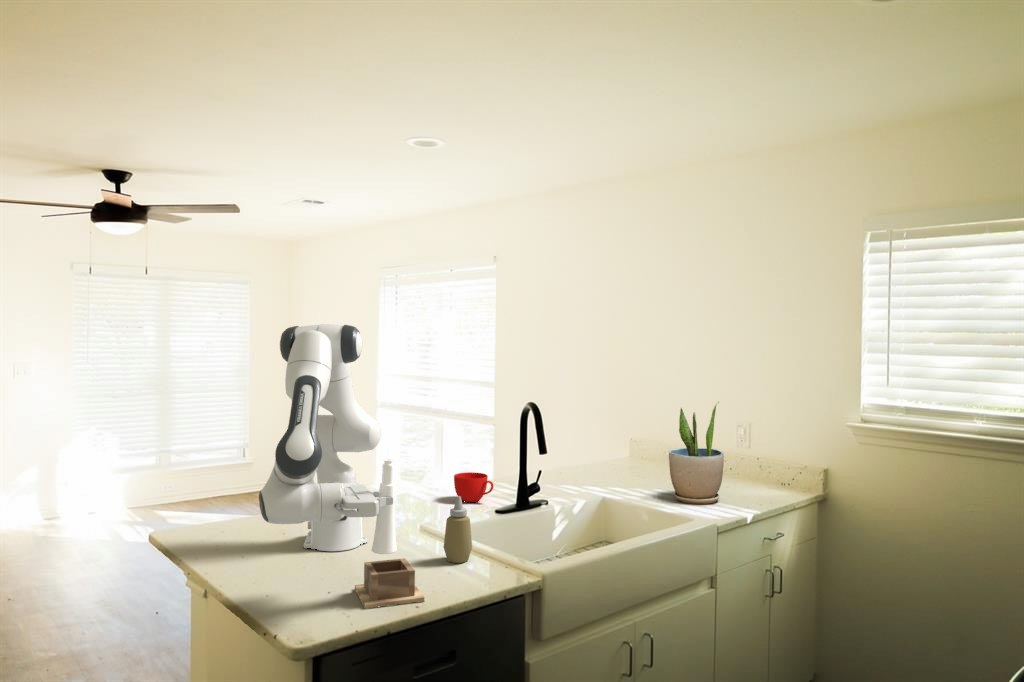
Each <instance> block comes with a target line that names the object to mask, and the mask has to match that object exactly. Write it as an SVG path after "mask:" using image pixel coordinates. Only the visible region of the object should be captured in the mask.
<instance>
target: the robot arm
mask: <svg viewBox="0 0 1024 682" xmlns="http://www.w3.org/2000/svg"><path fill="white" fill-rule="evenodd" d="M279 350H280V354H281V358H282V359H283V360H284V361H285V362H286V369H285V379H284V380H285V394H286V395H287V396H288V397H289V399H290V400H291V406H290V411H289V412H290V413H289V420H288V426H287V429H286V430H285V433H284V434H283V436H282V437H281V439H280V440H279V442H278V443H277V444H276V445H277V446H276V449H275V452H274V454H275V456H274V457H275V460H274V466H273V468H272V471H271V473H270V475H269V478H268V480H267V481H266V483H265V485H264V486H263V487H262V489H261V490H260V491H259V493H258V501H259V502H258V503H259V510H260V514H261V517H262V518H263V520H264V522H266V523H269V524H274V525H299V524H303V523H306V522H307V530H310V531H309V532H307V535H306V537H305V540H304V543H303V547H304V548H303V547H302V548H303V549H307V548H311V549H310V550H315V549H317V551H321V552H343V551H348V550H349V551H350V550H352V549H353V550H354V549H355V548H358V547H359V546H361V545H364V544H363V543H365V544H367V543H368V542H369V540H368V538H367V537H365V536H364V535H363V519H362V518H373V517H377V515H378V514H379V507H382V506H385V505H392V504H393V497H392V496H385V497H381V498H379V490H378V491H377V490H376V491H375V490H369V488H368V487H367V486H366V485H365V484H364V483H358V482H357V481H356V480H357V479H356V478H357V474H356V472H355V470H354V468H353V467H351V466H350V465H349V464H347V463H345V462H343V461H342V460H341V459H340V457H339V455H338V453H363V452H367V451H368V452H369V451H374V449H376V447H377V446H378V444H379V443H380V440H381V436H382V432H381V431H382V430H381V427H380V425H379V423H378V421H377V419H375V418H374V417H373V416H371V415H370V414H368V413H367V412H366V411H365V410H364V409H363V408H362V407H361V405H360V404H359V403H358V400H357V399H356V395H355V392H354V391H355V390H354V386H353V377H352V367H351V363H353V362H356V361H357V360H358V359H359V358H360V356H361V353H362V350H363V338H362V336H361V332H360V330H359V329H358V328H357V327H356V326H353V325H349V324H344V325H340V324H329V323H328V324H326V323H324V324H323V323H322V324H313V325H311V324H310V325H303V326H299V325H294V326H289V327H286V329H285V330H284V331H283V332H282V333H281V336H280V340H279ZM319 407H321V408H323V409H324V410H326V411H328V412H329V413H331V414H319ZM315 475H316V477H317V478H316V479H317V482H315ZM366 542H367V543H366ZM360 544H361V545H360Z"/></svg>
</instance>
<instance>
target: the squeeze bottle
mask: <svg viewBox="0 0 1024 682" xmlns="http://www.w3.org/2000/svg"><path fill="white" fill-rule="evenodd" d="M455 497H456V498H455V501H454V506H453V507H452V508H451V509H449V516H448V517H447V518H446V525H445V532H444V541H443V551H444V553H445V557H446V559H447V561H448V562H449V563H452V564H453V563H454V564H460V563H461V564H462V563H466V562H468V560H469V559H470V555H471V553H472V549H473V540H472V529H471V528H472V527H471V519H470V517H469V516H467V514H468V511H467V510H468V509H466V508H464V506H463V505H464V504H463V502H462V500H461V496H458V495H456V496H455Z"/></svg>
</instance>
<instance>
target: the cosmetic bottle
mask: <svg viewBox="0 0 1024 682" xmlns="http://www.w3.org/2000/svg"><path fill="white" fill-rule="evenodd" d="M383 461H384V462H383V464H382V468H381V470H382V472H381V483H380V484H379V490H378V492H379V498H381V497H385V496H392V497H393V504H392V505H385V506H382V507H379V514H378V515H377V516H376V521H375V530H374V534H373V535H374V536H373V540H372V546H371V552H372V553H374V554H378V555H391V554H394V553H396V552H397V550H398V548H397V540H396V539H397V538H396V484H395V483H394V480H395V479H394V477H395V476H394V475H395V474H394V473H395V464H394V460H393V459H389V458H388V459H387V458H386V459H384V460H383Z"/></svg>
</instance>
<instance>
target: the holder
mask: <svg viewBox="0 0 1024 682" xmlns="http://www.w3.org/2000/svg"><path fill="white" fill-rule="evenodd" d="M363 565H364V567H363V569H364V570H363V584H362V583H361V584H354V590H355V589H356V590H355V592H356V591H357V592H356V594H357V593H358V594H357V596H358V595H359V596H358V598H359V597H360V598H359V600H360V599H361V600H360V602H361V601H362V602H361V604H362V603H363V604H362V606H363V605H364V606H363V608H364V607H365V608H370V609H374V608H373V607H378V606H386V607H388V606H387V605H394V606H398V605H397V604H402V605H406V604H405V603H410V604H412V603H411V602H418V603H423V602H422V601H424V602H425V597H424V595H423V594H422V592H421V591H420V590H419V589H418V587H417V586H416V585H415V584H416V571H415V569H414V567H413V566H412V565H411V563H409V561H408V560H407V559H406V558H395V559H394V558H393V559H386V560H385V559H384V560H375V561H373V560H372V561H366V562H365V561H364V564H363ZM365 608H364V609H365ZM378 608H379V607H378Z"/></svg>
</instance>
